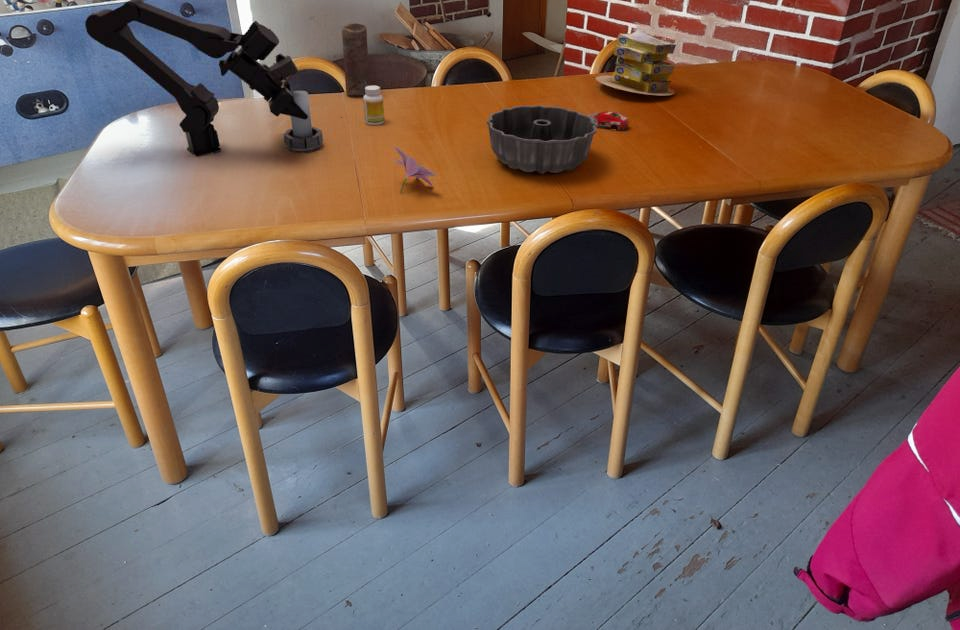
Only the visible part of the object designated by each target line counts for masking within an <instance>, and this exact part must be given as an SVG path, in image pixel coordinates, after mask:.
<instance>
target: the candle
mask: <svg viewBox="0 0 960 630" xmlns="http://www.w3.org/2000/svg"><path fill="white" fill-rule="evenodd" d="M367 31H368V30H367V27H366V25H364V24H362V23H356V22H354V23H347V24H345V25H343V26H342V28H341V36H342V37H341V39H342V50H343V51H342V52H343V64H344V65H343V66H344V81H345V93H346V94H347V96H355V97H364V95H366V93H365V87H367V86H371V84H370V78H371V77H370V67H369V66H370V65H369V51H368V49H369V48H368V32H367Z"/></svg>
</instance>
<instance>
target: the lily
mask: <svg viewBox="0 0 960 630" xmlns="http://www.w3.org/2000/svg"><path fill="white" fill-rule="evenodd" d="M391 145H392V144H391ZM392 147H393V148H394V150H396V152H397V153H398V155H399V156H400V157H401V159H400V158H398V159H395V160H394V161H395V162H396V163H398V164H399V165H401V166H403V167H404V169H405V173H406V174H405V175H406V176H405V178H404V180H403V182H402V185H401V189H400V191H399V192H400V193H399V194H402V193H403V188H404V186H405V183H406V181H407V179H408V178H416V179H417V178H419V180H420V179H422V180H423V181H424V182H426V183H427V184H428V185H429V186H431V188H433V187H434V185H433V183H432V182H431V180H429V177H430V178H431V177H435V178H436V177H437V176H438V175H436V174H435V173H434V172H433V171H432V170H430V169H429V168H428V167H426V166H424V165H419V164H420V163H419V162H418V163H417V161H416V159H415V158H414V157H413V156H409V157H408V155H407V154H406V153H405V152H404V151H403V150H402V149H400V148H399V147H397V146H396V145H394V144H393V145H392ZM427 177H428V178H427ZM437 178H438V177H437Z"/></svg>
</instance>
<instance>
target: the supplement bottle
mask: <svg viewBox="0 0 960 630" xmlns="http://www.w3.org/2000/svg"><path fill="white" fill-rule="evenodd" d="M365 93H366V94H365V95H363V96H362V97H363V99H362V100H363V101H362V103H363V113H364V122H365V124H367V125H370V126H378V125H379V126H380V125H382V124H383V123H385V112H384V111H385V109H384V97H383V95H382V94H381V87H380V86H378V85H370V86H367V87H365Z"/></svg>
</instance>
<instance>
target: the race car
mask: <svg viewBox="0 0 960 630" xmlns="http://www.w3.org/2000/svg"><path fill="white" fill-rule="evenodd" d="M584 115H587V116H589V117H591V118H592V119H593V122H595V123H597V124H598V126H597V127H596V128H599V127H602V128H601V129H606V128H609V129H608V130H611V129H616V131H625V130H627V128H628V127H629V118H628V117H626V116H623V115H622V114H620V113H617V112H614V111H609V110H608V111H605V110H604V111H601V112H598V113H594V112H593V113H592V112H591V113H586V114H585V113H584ZM610 128H611V129H610Z"/></svg>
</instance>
